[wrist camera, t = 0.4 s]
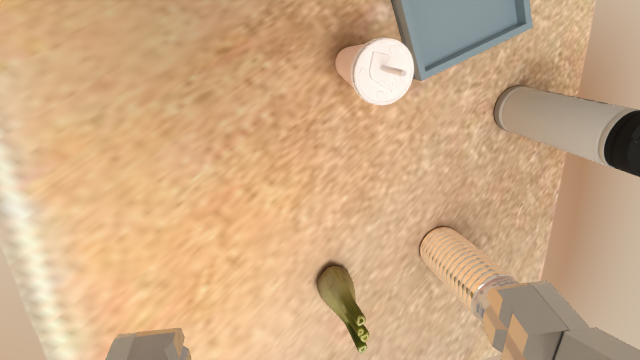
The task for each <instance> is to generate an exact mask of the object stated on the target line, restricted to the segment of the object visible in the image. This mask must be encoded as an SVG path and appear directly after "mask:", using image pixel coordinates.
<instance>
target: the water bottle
mask: <svg viewBox="0 0 640 360" xmlns="http://www.w3.org/2000/svg"><path fill="white" fill-rule="evenodd" d="M420 255H421V258H422V260H423V261H424V263H425V264H426V265H427V266H428V267H429V268H430V269H431V270H432V271H433V273H434V274H436V276H437V277H438V278H439V279H440V280H441V281H442V282H443V283H444V284H445V285H446V286H447V287H448V288H449V289H450V290H451V292H452V293H454V295H455V296H456V297H457V298H458V299H459V300H460V301H461V302H462V303H463V304H464V305H465V306H466V307H467V308H468V309H469V310H470V311H471V313H472V314H473V315H474V316H476V317H477V318H478V319H479V320H480V321H481V322H482V323H483V315H484V310H485V309H486V308H487V307H488V306H489V305H490V303H489V301H488V300H487V294H488V291H489V290H490V288H493V287H500V286H507V285H515V284H520V283H519V282H517V281H516V280H515V278H514V277H513V276H512V275H510V274H509V273H508V272H507V271H505V270H504V269H503V268H502V267H500V266H499V265H498V264H497V263H495V262H494V261H493V260H492V259H490V258H489V257H488V256H487V255H485V254H484V253H483V252H482V251H480V250H479V249H478V248H477V247H475V246H474V245H473V244H472V243H471V242H469V241H468V240H467V239H465V238H464V237H463V236H462V235H460V234H459V233H458V232H456V231H455V230H453V229H451V228H448V227H440V228H436V229H434V230H432V231H431V232H429V233H428V234H427V235H426V236H425V238H424V239H423V241H422V243H421V246H420Z"/></svg>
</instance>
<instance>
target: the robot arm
mask: <svg viewBox="0 0 640 360" xmlns="http://www.w3.org/2000/svg"><path fill="white" fill-rule="evenodd" d="M487 300H488V301H489V303H490V305H489V306H488V307H487V308H486V309H485V310H484V315H483V324H484V330H485V333H486V335H487V338H488V340H489V341H490V343H491V345H492V346H493V347H494V348H496V349H497V350H499V351H500V352H502V356H501V360H640V350H638V349H636V348H635V347H633V346H631V345H629V344H627V343H625V342H623V341H621V340H619V339H617V338H615V337H613V336H611V335H609V334H607V333H606V332H604V331H602V330H600V329H598V328H590V327H589V326H588V325H587V324H586V322H585V321H584V320H583V319H582V318H581V317H580V316H579V314H578V313H577V312H576V311H575V310H574V309H573V308H572V307H571V305H570V304H569V303H568V302H567V301H566V300H565V299H564V297H563V296H562V295H561V294H560V293H559V292H558V291H557V290H556V288H555V287H554V286H553V285H552V284H551V283H550V282H548V281H538V282H531V283H522V284H515V285H507V286H500V287H493V288H490V290H489V291H488V294H487ZM184 338H185V337H184V334H183V332H182V329H181V328H173V329H163V330H153V331H143V332H136V333H127V334H119V335H118V336H117V337H116V338H115V339H114V340H113V343H112V345H111V347H110V350H109V352H108V355H107V357H106V359H105V360H191V355H190V352H189V349H188V348H186V347H185V346H183V342H184Z"/></svg>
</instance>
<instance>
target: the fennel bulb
mask: <svg viewBox="0 0 640 360" xmlns="http://www.w3.org/2000/svg"><path fill="white" fill-rule="evenodd" d="M318 291H319V294H320V296H321V298H322V299H323V301H324V302H325V303H326V304H327V305H328V306H329V307H330V308H331V309H332V310H333V311H334V312H335V313H336V314H337V315H338V316H339V317H340V318H341V319H342V320H343V322H344V323H345V324H346V326H347V328H348V330H349V333H350V335H351V337H352V339H353V341H354V343H355V345H356V347H357V350H358V352H360V353H364V352H365V351H366V349H367V345H366V343H365V342H366V341H367V340H368V338H369V332H368V330H367V329H366V327H365V326H364V325H363V324H364V323H365V322H366V319H365V316H364V315H363V313H362V312H361V310H360V309H359V307H358V306H357V304H356V301H355V290H354V286H353V282H352V279H351V277H350V275H349V273H348V271H347V270H346V269H345V268H343V267H338V266H332V267H328V268H327V269H326V270H325V271H324V272H323V273H322V274H321V276H320V277H319V279H318Z"/></svg>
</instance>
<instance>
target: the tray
mask: <svg viewBox="0 0 640 360" xmlns="http://www.w3.org/2000/svg"><path fill="white" fill-rule="evenodd" d="M391 1H392V5H393V9H394V12H395V16H396V20H397V24H398V27H399V31H400V35H401V39H402V42H403V44H404V45H405V46H406V47H407V48H408V50H409V51H410V53H411V55H412V58H413V62H414V75H413V79H417V80H420V81H422V80H424V79H426V78H429V77H431V76H433V75H435V74H437V73H439V72H441V71H443V70H445V69H447V68H449V67H451V66H454V65H456V64H458V63H460V62H462V61H464V60H466V59H468V58H470V57H472V56H474V55H476V54H478V53H481V52H483V51H485V50H487V49H489V48H491V47H493V46H495V45H497V44H499V43H501V42H503V41H506V40H508V39H510V38H512V37H514V36H516V35H518V34H520V33H522V32H524V31H526V30H528V29H531V28H533V27H532V18H531V10H530V1H529V0H391Z"/></svg>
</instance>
